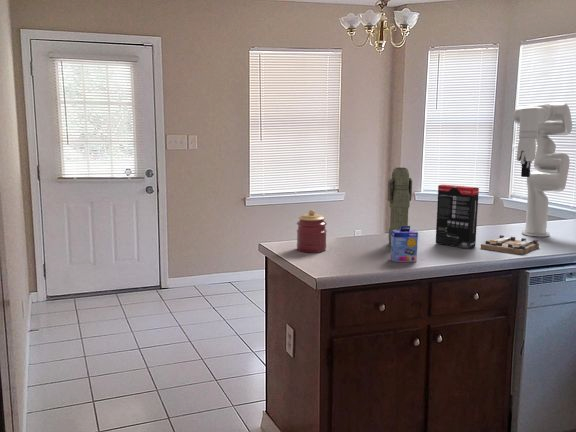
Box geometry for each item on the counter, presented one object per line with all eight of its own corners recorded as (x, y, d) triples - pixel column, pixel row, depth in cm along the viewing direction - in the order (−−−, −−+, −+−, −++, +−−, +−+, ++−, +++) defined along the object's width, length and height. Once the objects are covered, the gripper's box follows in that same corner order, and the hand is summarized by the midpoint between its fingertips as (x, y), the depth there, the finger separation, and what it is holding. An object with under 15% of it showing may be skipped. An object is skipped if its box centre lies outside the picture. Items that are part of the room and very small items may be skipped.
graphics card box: (476, 247, 252) (480, 186, 248) (469, 249, 247) (473, 187, 243) (441, 242, 264) (444, 183, 259) (434, 244, 259) (437, 184, 254)
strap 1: (504, 238, 260) (504, 235, 260) (510, 239, 258) (510, 236, 258) (489, 243, 248) (489, 240, 248) (496, 244, 246) (496, 240, 246)
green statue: (381, 244, 258) (383, 167, 252) (401, 241, 264) (403, 166, 258) (394, 247, 250) (397, 169, 245) (414, 245, 256) (417, 168, 251)
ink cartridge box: (393, 262, 224) (394, 226, 222) (389, 259, 229) (390, 224, 227) (417, 262, 225) (418, 226, 222) (413, 258, 230) (414, 223, 228)
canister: (292, 251, 243) (292, 211, 240) (302, 245, 255) (302, 207, 252) (321, 254, 238) (321, 212, 236) (329, 247, 250) (330, 208, 248)
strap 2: (526, 241, 253) (526, 238, 253) (532, 242, 251) (533, 239, 251) (512, 246, 242) (512, 243, 242) (519, 247, 240) (519, 244, 240)
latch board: (499, 241, 264) (499, 234, 263) (538, 247, 252) (539, 239, 251) (480, 248, 249) (481, 240, 249) (521, 254, 237) (522, 246, 237)
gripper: (525, 135, 257) (523, 175, 260) (513, 135, 247) (510, 177, 249) (542, 135, 252) (539, 176, 255) (530, 135, 242) (527, 178, 244)
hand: (525, 176), depth 252 cm, fingers closed
